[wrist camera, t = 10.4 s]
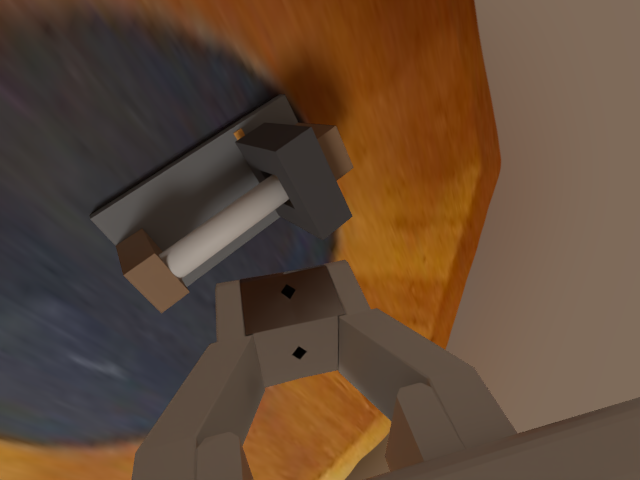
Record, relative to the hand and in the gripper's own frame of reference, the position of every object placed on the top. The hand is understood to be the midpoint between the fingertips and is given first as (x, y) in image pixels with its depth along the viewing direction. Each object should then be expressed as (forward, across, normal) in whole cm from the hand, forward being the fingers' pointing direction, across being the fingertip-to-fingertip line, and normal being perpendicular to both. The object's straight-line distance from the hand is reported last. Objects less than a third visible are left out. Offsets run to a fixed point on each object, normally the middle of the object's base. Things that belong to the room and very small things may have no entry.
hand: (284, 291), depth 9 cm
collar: (+32, -3, +13) cm, 35 cm away
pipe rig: (+33, +3, +15) cm, 36 cm away
